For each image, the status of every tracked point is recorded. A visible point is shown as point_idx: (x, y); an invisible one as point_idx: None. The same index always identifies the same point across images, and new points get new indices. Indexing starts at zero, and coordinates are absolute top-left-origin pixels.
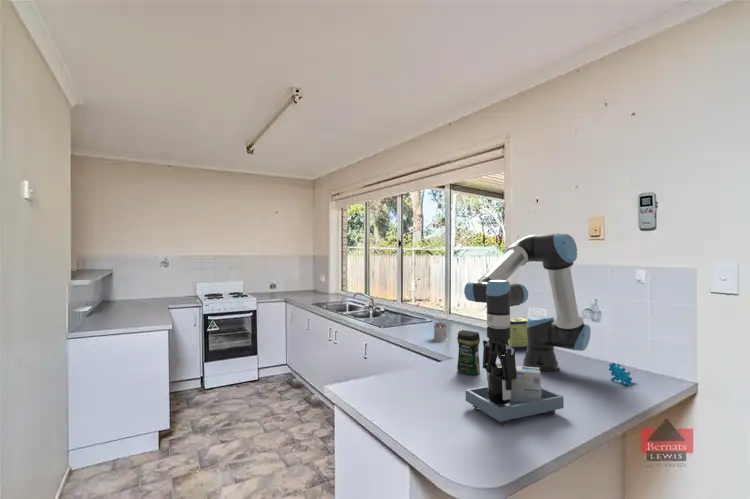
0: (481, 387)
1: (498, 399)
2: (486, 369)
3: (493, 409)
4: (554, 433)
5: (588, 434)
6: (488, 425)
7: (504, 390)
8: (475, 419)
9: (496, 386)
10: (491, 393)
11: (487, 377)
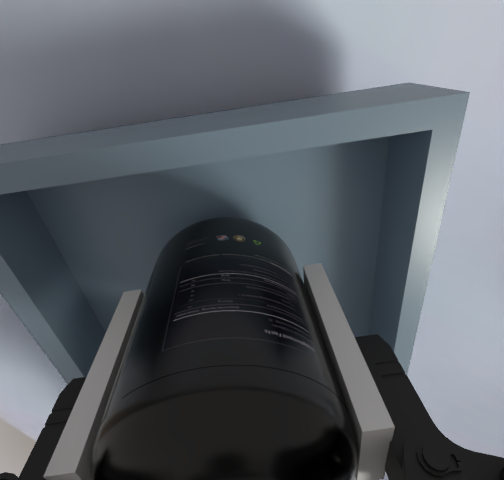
0: (424, 259)
1: (155, 264)
2: (445, 468)
3: (29, 151)
4: (6, 337)
5: (12, 412)
6: (83, 88)
7: (99, 357)
8: (185, 43)
9: (138, 338)
10: (199, 253)
11: (393, 362)
